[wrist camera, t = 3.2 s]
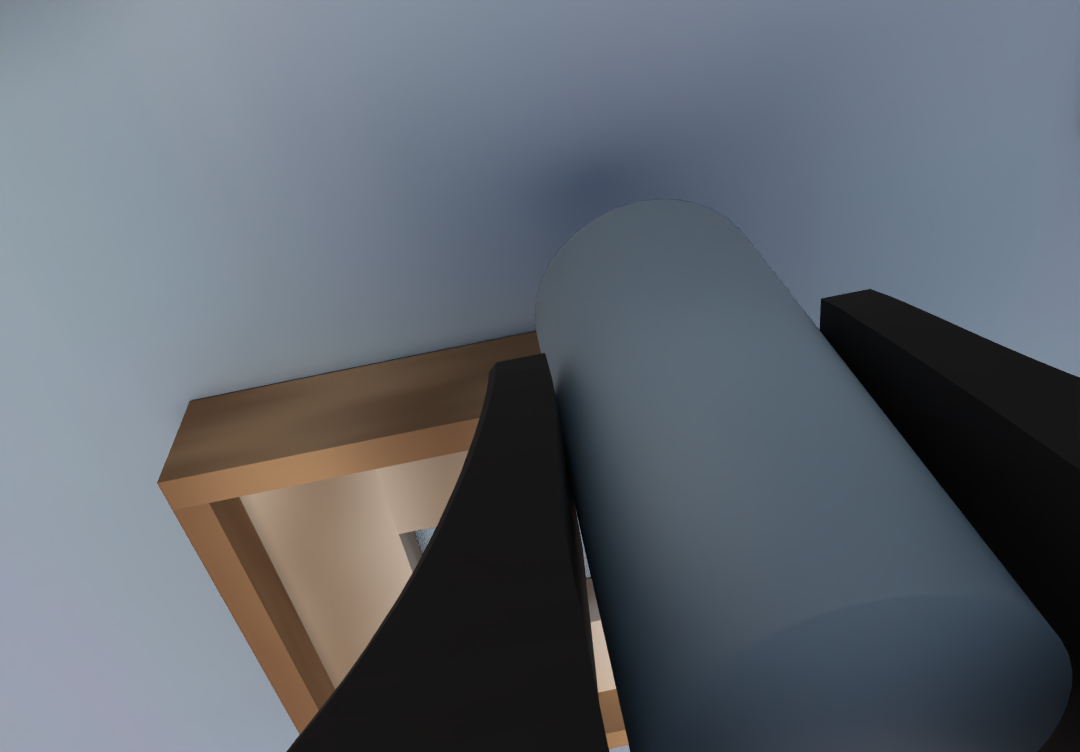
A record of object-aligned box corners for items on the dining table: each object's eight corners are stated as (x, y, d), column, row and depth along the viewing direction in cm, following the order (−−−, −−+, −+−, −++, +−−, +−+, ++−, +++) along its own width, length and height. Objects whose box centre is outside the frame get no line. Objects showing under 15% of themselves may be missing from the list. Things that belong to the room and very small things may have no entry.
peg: (762, 177, 11) (1120, 550, 6) (763, 381, 13) (1028, 816, 7) (517, 224, 11) (617, 651, 5) (552, 422, 13) (655, 891, 7)
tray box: (717, 294, 20) (759, 360, 18) (733, 636, 28) (764, 717, 25) (189, 401, 20) (157, 483, 18) (346, 715, 27) (339, 804, 25)
